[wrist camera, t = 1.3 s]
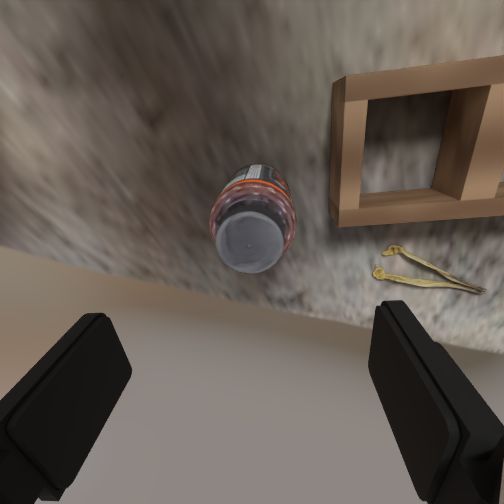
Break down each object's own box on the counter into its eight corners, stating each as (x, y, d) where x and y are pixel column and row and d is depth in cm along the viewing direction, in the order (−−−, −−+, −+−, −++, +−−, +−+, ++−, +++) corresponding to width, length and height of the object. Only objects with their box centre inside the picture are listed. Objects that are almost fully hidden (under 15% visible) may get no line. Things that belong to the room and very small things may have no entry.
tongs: (476, 296, 29) (489, 307, 28) (365, 270, 29) (370, 279, 28) (500, 265, 27) (515, 275, 26) (381, 237, 27) (388, 245, 26)
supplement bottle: (299, 207, 25) (319, 267, 15) (246, 233, 27) (232, 302, 17) (271, 149, 23) (272, 174, 13) (215, 181, 24) (177, 226, 14)
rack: (332, 82, 20) (346, 75, 17) (632, 44, 18) (720, 27, 15) (328, 211, 25) (338, 227, 22) (565, 193, 23) (619, 207, 20)
